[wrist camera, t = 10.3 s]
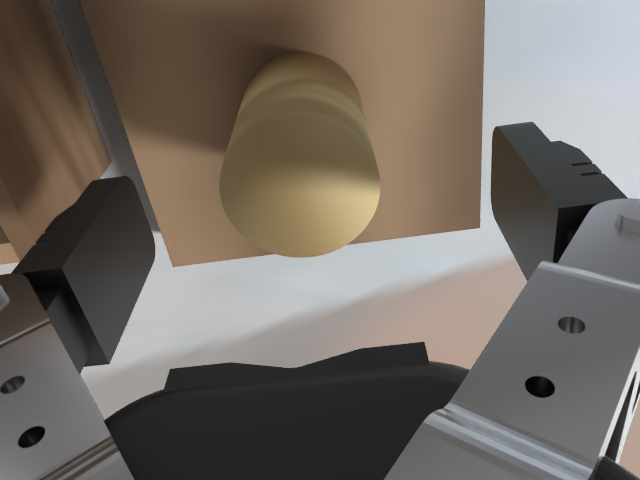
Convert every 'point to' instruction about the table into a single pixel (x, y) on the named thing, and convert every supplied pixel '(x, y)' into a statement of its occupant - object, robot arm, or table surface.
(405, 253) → the table surface
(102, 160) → the box
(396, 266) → the table surface
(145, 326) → the table surface
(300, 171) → the lid
